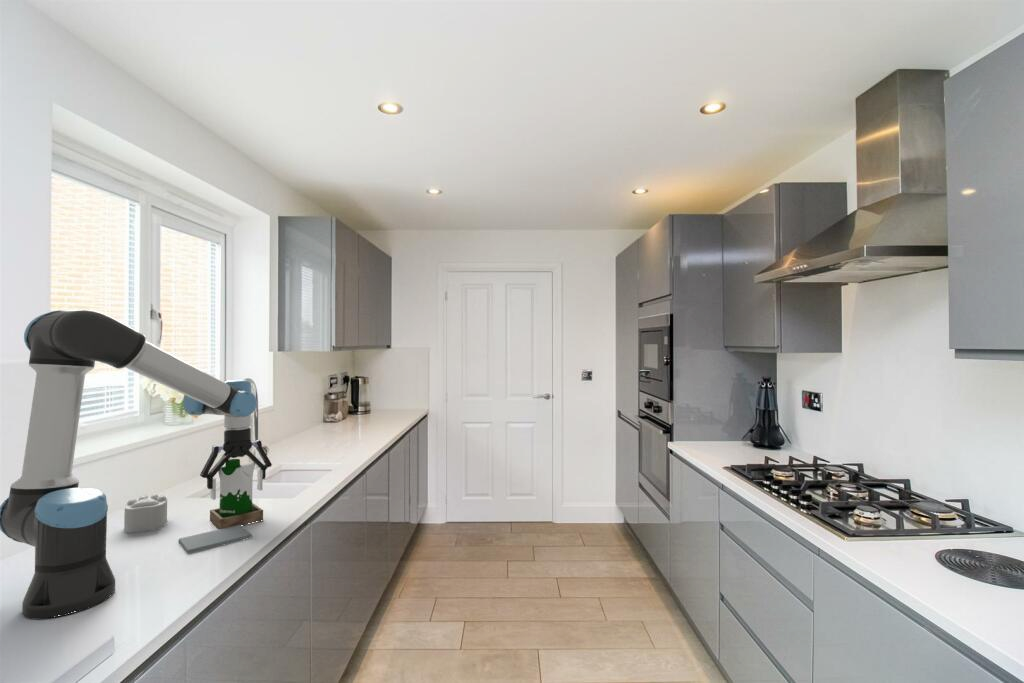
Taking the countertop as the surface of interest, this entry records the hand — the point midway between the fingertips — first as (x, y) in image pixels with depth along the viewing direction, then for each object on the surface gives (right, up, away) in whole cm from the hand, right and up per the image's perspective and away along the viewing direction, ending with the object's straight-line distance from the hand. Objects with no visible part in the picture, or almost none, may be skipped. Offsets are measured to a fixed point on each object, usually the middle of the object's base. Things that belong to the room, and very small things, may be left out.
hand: (237, 494), depth 156 cm
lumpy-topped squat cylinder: (-26, -9, -4) cm, 28 cm away
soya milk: (0, -9, 0) cm, 9 cm away
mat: (+3, -8, -16) cm, 18 cm away
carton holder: (0, -9, 0) cm, 9 cm away
